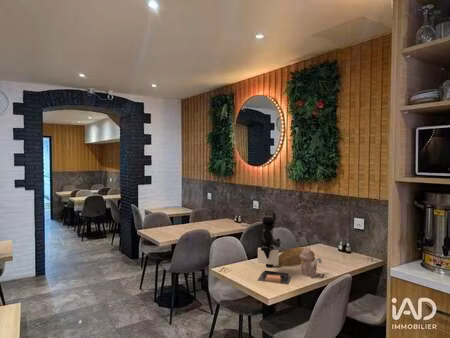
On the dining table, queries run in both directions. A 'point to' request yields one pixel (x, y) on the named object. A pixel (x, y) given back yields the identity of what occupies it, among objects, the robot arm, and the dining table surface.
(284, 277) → the rack
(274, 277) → the offcut upper
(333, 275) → the dining table surface
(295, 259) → the bread
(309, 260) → the toy
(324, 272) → the dining table surface
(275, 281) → the offcut lower
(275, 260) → the beige rectangular panel
